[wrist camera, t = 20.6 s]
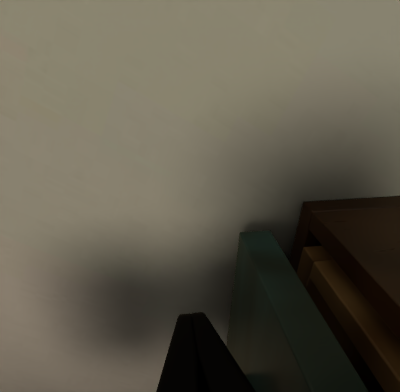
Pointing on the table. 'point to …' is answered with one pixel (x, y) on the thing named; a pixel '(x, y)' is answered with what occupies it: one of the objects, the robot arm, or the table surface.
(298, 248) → the cabinet
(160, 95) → the table surface
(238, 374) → the robot arm
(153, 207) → the table surface
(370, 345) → the drawer
